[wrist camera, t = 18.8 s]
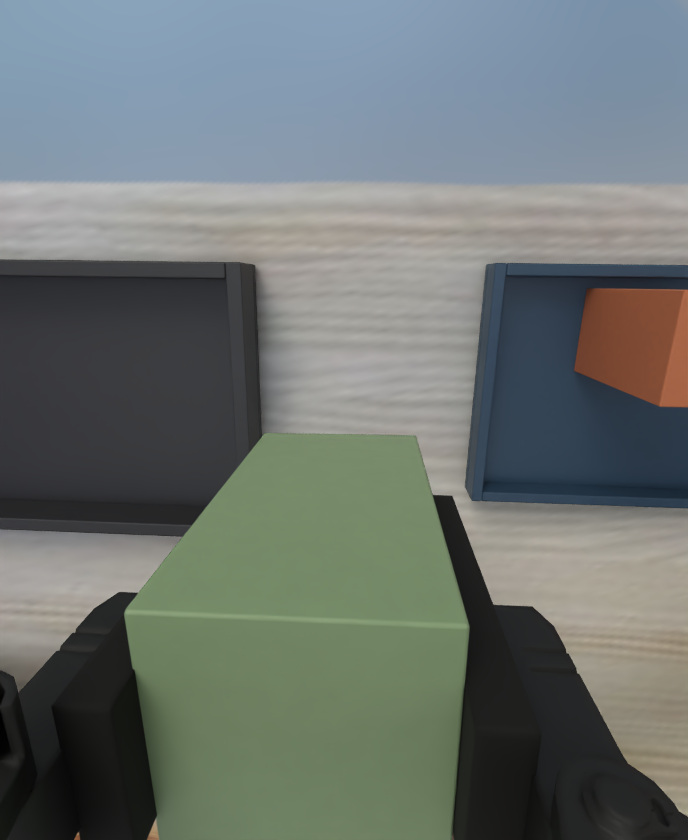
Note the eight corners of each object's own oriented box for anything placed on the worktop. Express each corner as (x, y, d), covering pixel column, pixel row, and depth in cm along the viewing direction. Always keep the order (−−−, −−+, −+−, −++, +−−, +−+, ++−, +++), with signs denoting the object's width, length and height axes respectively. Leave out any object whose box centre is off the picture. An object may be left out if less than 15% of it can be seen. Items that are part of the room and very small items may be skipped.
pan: (255, 264, 26) (240, 262, 23) (264, 515, 30) (253, 540, 27) (-113, 260, 27) (-171, 257, 24) (-51, 503, 31) (-94, 525, 28)
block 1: (416, 434, 13) (471, 626, 6) (410, 569, 15) (450, 877, 7) (264, 432, 14) (121, 611, 6) (271, 565, 15) (159, 856, 7)
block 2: (672, 289, 24) (811, 291, 17) (655, 373, 26) (777, 410, 18) (586, 288, 25) (684, 289, 17) (573, 371, 26) (659, 407, 18)
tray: (776, 268, 24) (811, 266, 22) (715, 495, 28) (741, 510, 26) (485, 264, 25) (495, 262, 23) (464, 486, 29) (471, 501, 27)
